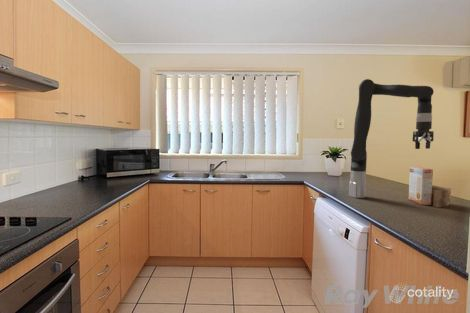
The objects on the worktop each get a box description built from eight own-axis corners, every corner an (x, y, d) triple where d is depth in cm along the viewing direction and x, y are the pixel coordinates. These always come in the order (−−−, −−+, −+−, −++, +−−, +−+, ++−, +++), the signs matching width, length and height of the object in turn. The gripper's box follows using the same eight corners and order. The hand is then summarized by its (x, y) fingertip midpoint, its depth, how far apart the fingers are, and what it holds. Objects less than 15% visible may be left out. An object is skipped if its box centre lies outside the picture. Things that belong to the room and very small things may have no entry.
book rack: (437, 207, 153) (438, 189, 153) (403, 199, 173) (404, 183, 172) (449, 205, 157) (450, 188, 156) (414, 197, 176) (415, 182, 176)
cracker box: (431, 205, 157) (433, 169, 156) (420, 205, 158) (422, 169, 156) (418, 199, 171) (419, 166, 170) (408, 199, 172) (409, 166, 170)
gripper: (426, 121, 167) (424, 148, 168) (409, 121, 162) (408, 148, 163) (438, 121, 160) (437, 148, 161) (421, 120, 155) (420, 149, 156)
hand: (422, 148), depth 162 cm, fingers open, 8 cm apart
